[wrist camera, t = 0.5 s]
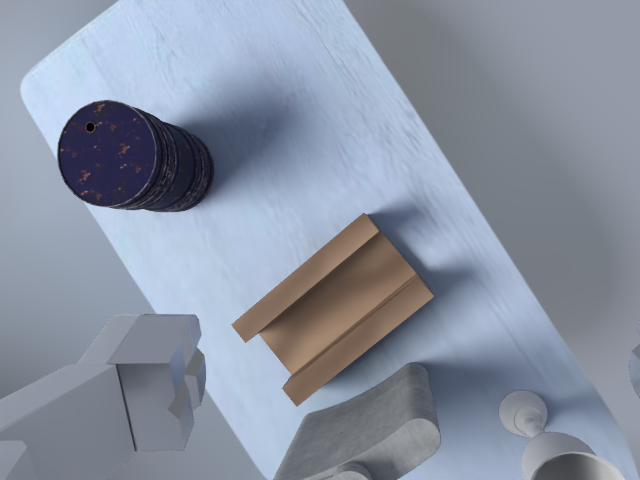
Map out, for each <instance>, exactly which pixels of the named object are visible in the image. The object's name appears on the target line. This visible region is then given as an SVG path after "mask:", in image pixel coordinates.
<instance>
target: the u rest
mask: <svg viewBox="0 0 640 480" xmlns="http://www.w3.org/2000/svg"><path fill="white" fill-rule="evenodd" d="M433 297H434V295H433V293H432V291H431V290H430V288H429V287H428V286H427V285H426V283H425V282H424V281H423V280H422V279H421V278H420V276H419V275H418V274H417V273H416V272H415V270H414V269H413V268H412V267H411V266H410V264H409V263H408V262H407V261H406V260H405V259H404V257H403V256H402V255H401V254H400V253H399V251H398V250H397V249H396V248H395V247H394V246H393V244H392V243H391V242H390V241H389V240H388V238H387V237H386V236H385V235H384V234H383V233H382V231H381V230H380V229H379V228H378V227H377V225H376V224H375V223H374V222H373V221H372V220H371V218H370V217H369V216H368V215H367V214H365V213H363V214H362V215H360V216H359V217H358V218H357V219H356V220H354V221H353V222H352V223H351V224H350V225H349V226H347V227H346V228H345V229H344V230H343V231H341V232H340V233H339V234H338V235H337V236H336V237H334V238H333V239H332V240H331V241H330V242H328V243H327V244H326V245H325V246H324V247H323V248H321V249H320V250H319V251H318V252H317V253H315V254H314V255H313V256H312V257H311V258H310V259H308V260H307V261H306V262H305V263H304V264H302V265H301V266H300V267H299V268H298V269H297V270H295V271H294V272H293V273H292V274H291V275H289V276H288V277H287V278H286V279H285V280H284V281H282V282H281V283H280V284H279V285H278V286H276V287H275V288H274V289H273V290H272V291H270V292H269V293H268V294H267V295H266V296H265V297H263V298H262V299H261V300H260V301H259V302H257V303H256V304H255V305H254V306H253V307H252V308H250V309H249V310H248V311H247V312H246V313H244V314H243V315H242V316H241V317H240V318H239V319H237V320H236V321H235V322H234V323H233V324H231V325H232V327H233V328H234V329H235V330H236V332H237V333H238V334H239V335H240V336H241V338H242V339H243V340H244V341H245V343H246V342H247V341H249V340H250V339H251V338H253V337H254V336H255V335H257V334H259V335H260V336H261V337H262V339H263V340H264V341H265V342H266V344H267V345H268V346H269V347H270V349H271V350H272V351H273V352H274V354H275V355H276V356H277V357H278V359H279V360H280V361H281V362H282V364H283V365H284V366H285V367H286V368H287V370H288V371H289V372H290V373H291V377H290V378H289V379H288V381H287V382H286V384H285V385H284V386H283V388H282V389H283V390H284V391H285V393H286V394H287V395H288V396H289V398H290V399H291V400H292V401H293V403H294V404H295V405H296V406H298V405H300V404H301V403H302V402H303V401H305V400H306V399H307V398H308V397H310V396H311V395H312V394H313V393H315V392H316V391H317V390H318V389H320V388H321V387H322V386H323V385H325V384H326V383H327V382H328V381H329V380H331V379H332V378H333V377H334V376H336V375H337V374H338V373H339V372H341V371H342V370H343V369H344V368H346V367H347V366H348V365H349V364H351V363H352V362H353V361H354V360H356V359H357V358H358V357H359V356H361V355H362V354H363V353H364V352H366V351H367V350H368V349H369V348H371V347H372V346H373V345H374V344H376V343H377V342H378V341H379V340H381V339H382V338H383V337H384V336H386V335H387V334H388V333H389V332H391V331H392V330H393V329H394V328H396V327H397V326H398V325H399V324H401V323H402V322H403V321H404V320H406V319H407V318H408V317H409V316H411V315H412V314H413V313H414V312H416V311H417V310H418V309H419V308H421V307H422V306H423V305H424V304H426V303H427V302H428V301H429V300H431V299H432V298H433Z"/></svg>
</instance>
